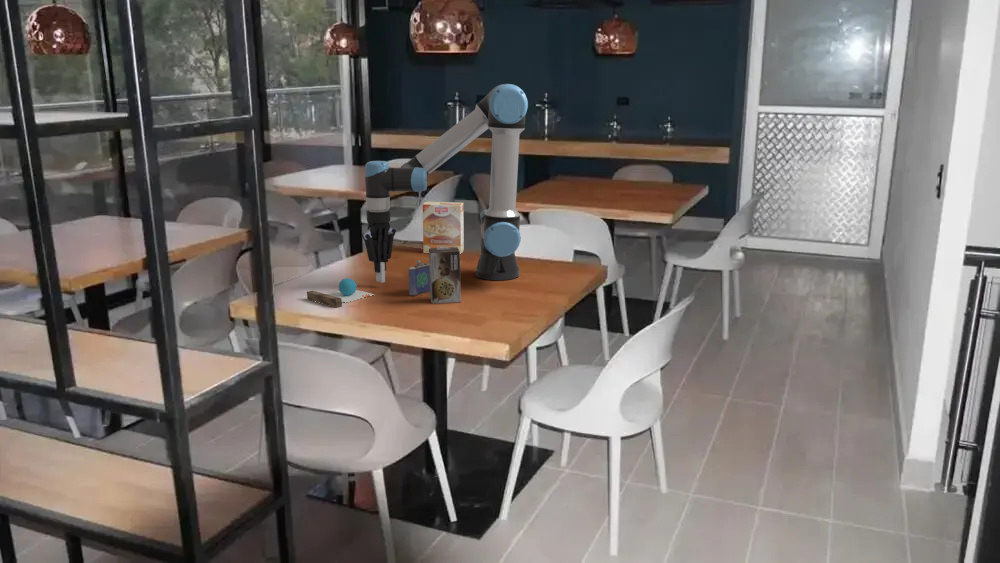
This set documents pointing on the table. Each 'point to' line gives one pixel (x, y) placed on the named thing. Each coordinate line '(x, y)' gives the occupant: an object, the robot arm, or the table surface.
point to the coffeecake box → (443, 225)
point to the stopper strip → (324, 298)
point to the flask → (419, 279)
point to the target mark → (352, 297)
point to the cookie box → (444, 275)
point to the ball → (347, 286)
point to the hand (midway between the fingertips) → (380, 281)
